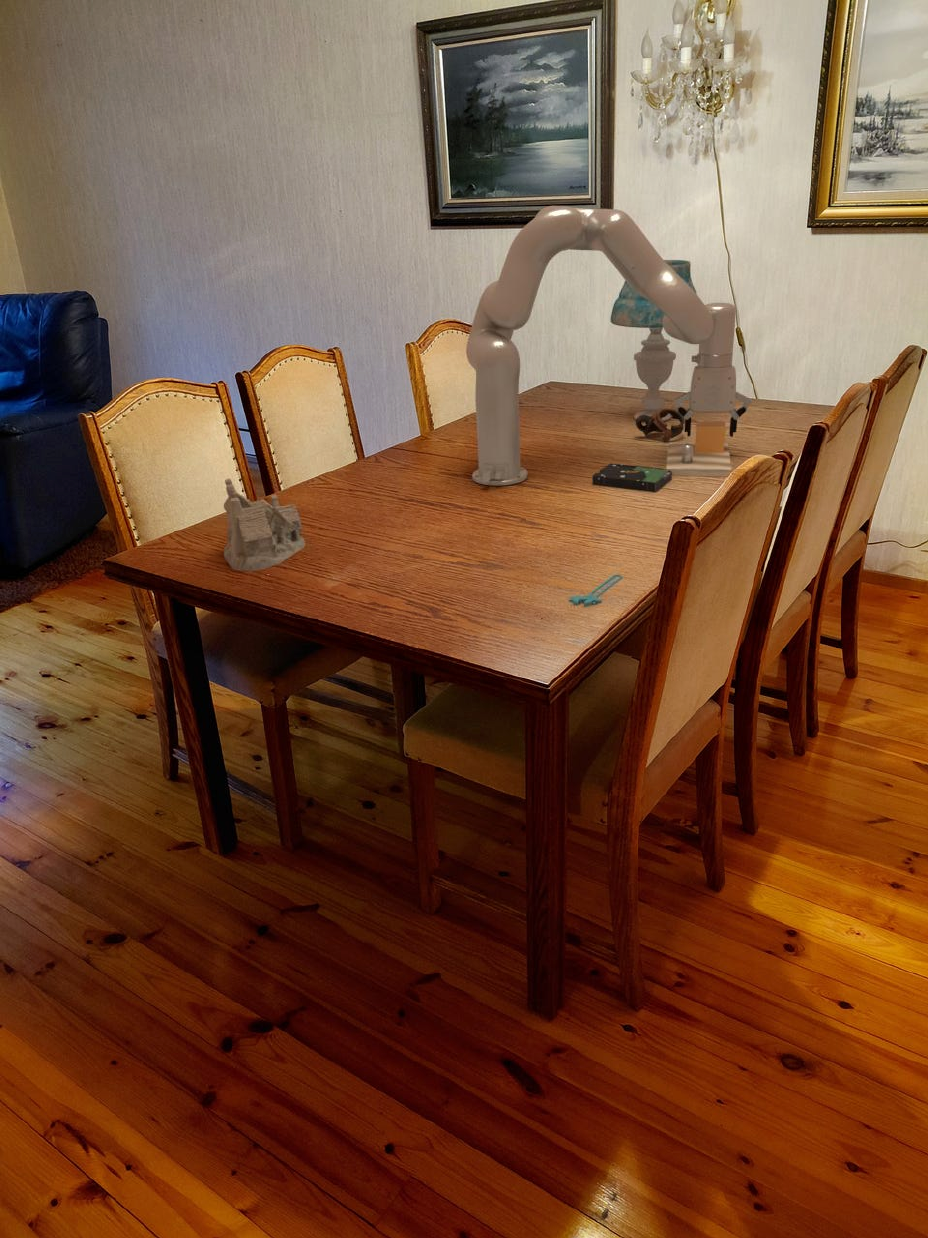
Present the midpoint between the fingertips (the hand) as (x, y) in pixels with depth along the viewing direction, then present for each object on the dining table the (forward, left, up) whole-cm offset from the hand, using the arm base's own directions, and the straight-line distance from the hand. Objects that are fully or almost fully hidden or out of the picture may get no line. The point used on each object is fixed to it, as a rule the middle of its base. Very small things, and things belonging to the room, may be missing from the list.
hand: (709, 435), depth 215 cm
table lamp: (+36, +14, -5) cm, 39 cm away
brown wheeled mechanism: (+16, +12, -5) cm, 21 cm away
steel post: (-11, +5, -3) cm, 13 cm away
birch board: (-5, +2, -5) cm, 8 cm away
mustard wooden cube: (0, 0, -3) cm, 3 cm away
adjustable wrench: (-80, +18, -5) cm, 83 cm away
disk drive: (-21, +17, -6) cm, 28 cm away
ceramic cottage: (-70, +82, -5) cm, 108 cm away
